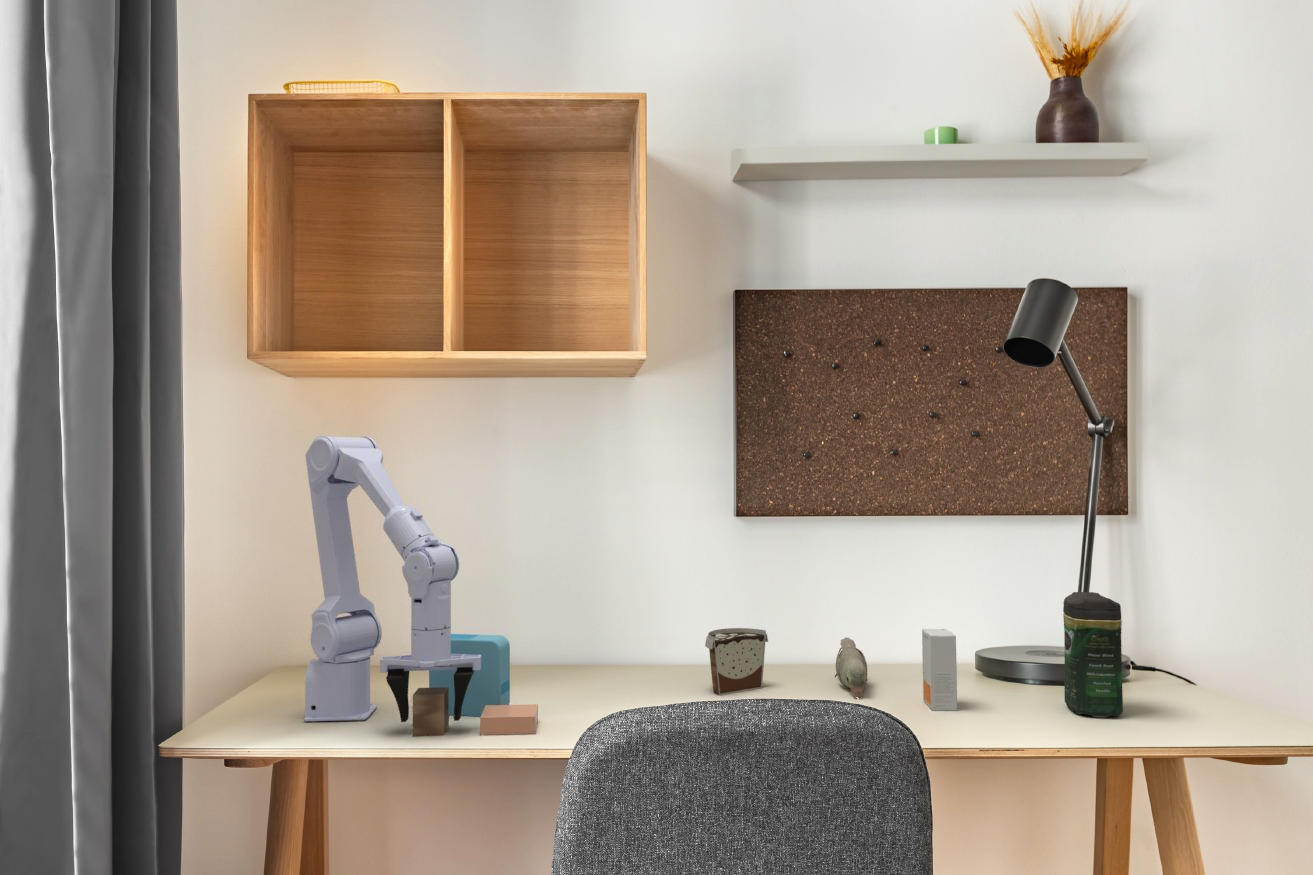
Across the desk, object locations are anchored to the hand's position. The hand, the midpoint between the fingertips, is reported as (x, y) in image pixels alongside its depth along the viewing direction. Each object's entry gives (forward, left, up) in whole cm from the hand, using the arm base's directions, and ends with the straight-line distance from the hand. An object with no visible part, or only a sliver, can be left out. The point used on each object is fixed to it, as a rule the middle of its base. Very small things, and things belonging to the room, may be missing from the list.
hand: (431, 719), depth 137 cm
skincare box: (+80, +8, -2) cm, 80 cm away
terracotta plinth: (+11, +1, -2) cm, 12 cm away
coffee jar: (+103, +3, -2) cm, 103 cm away
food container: (+48, +23, -2) cm, 53 cm away
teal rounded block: (+4, +11, -2) cm, 11 cm away
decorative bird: (+69, +21, -2) cm, 72 cm away
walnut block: (0, 0, -2) cm, 2 cm away
